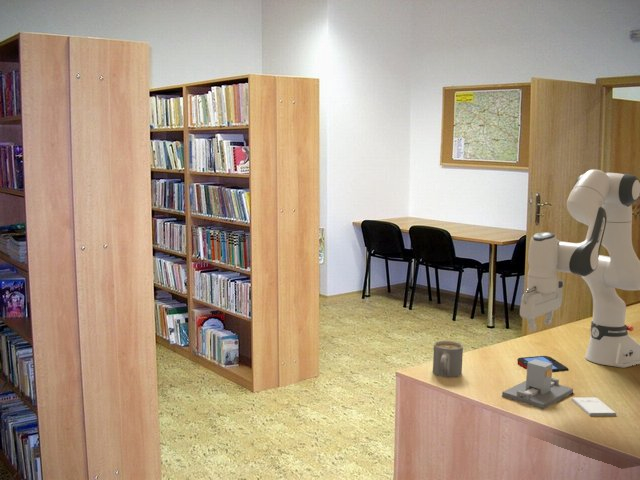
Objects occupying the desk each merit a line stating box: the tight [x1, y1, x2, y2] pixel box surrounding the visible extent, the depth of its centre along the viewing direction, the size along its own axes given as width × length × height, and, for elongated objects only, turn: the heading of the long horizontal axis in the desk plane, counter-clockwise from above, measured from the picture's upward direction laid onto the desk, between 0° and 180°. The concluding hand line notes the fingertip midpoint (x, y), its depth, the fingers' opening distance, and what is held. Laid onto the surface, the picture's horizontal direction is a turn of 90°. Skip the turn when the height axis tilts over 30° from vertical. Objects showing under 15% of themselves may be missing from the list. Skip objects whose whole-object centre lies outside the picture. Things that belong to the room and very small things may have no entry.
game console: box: [516, 355, 569, 373], centre depth 245 cm, size 14×13×2 cm
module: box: [525, 359, 553, 394], centre depth 217 cm, size 5×6×9 cm
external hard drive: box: [571, 396, 617, 417], centre depth 208 cm, size 2×8×12 cm
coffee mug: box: [432, 340, 464, 378], centre depth 235 cm, size 13×10×10 cm
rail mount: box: [501, 377, 574, 410], centre depth 218 cm, size 20×14×3 cm
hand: (540, 327), depth 215 cm, fingers open, 8 cm apart
